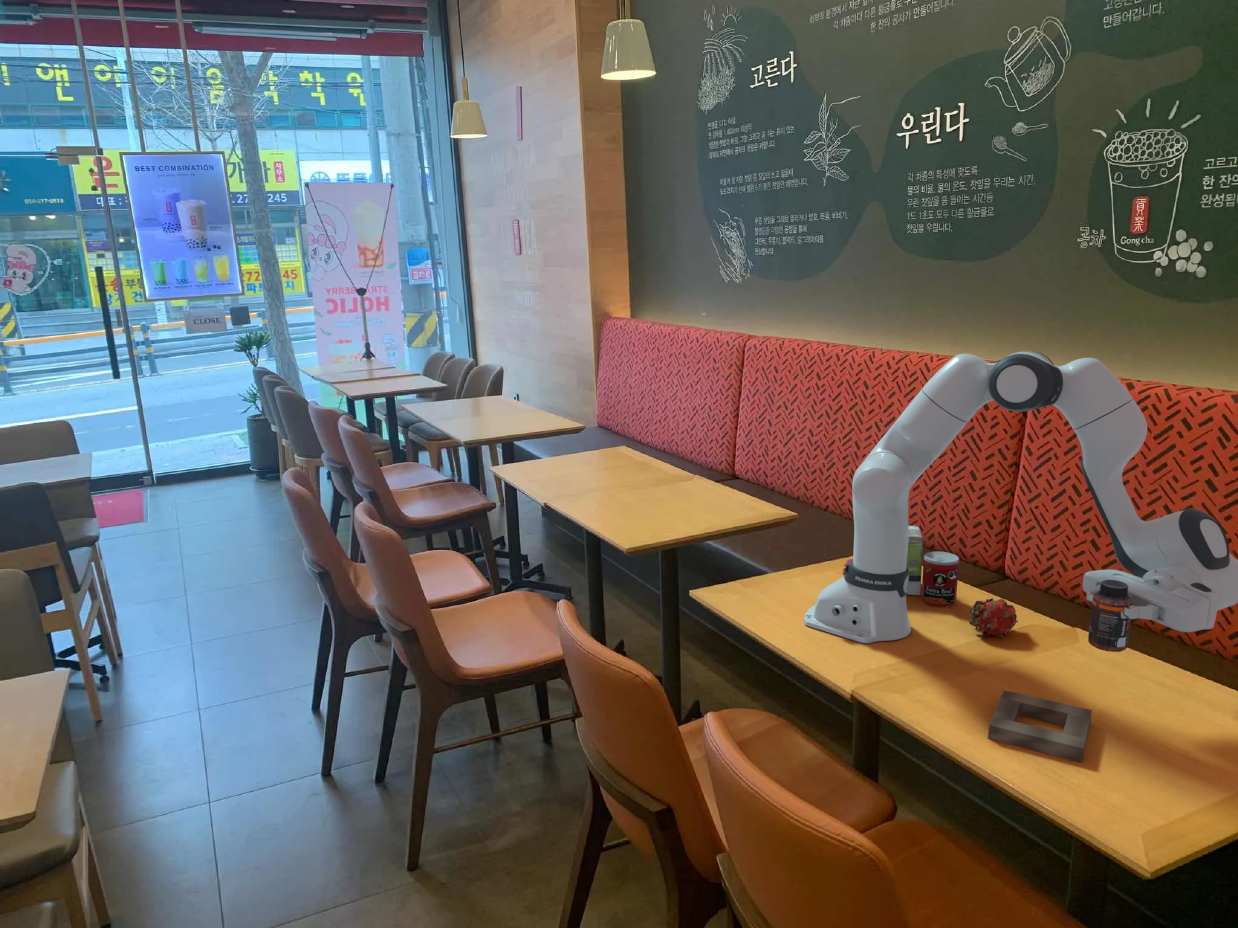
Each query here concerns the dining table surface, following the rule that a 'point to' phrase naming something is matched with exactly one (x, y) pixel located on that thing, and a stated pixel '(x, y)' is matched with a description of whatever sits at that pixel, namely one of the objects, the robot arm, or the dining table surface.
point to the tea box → (914, 560)
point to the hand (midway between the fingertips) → (1108, 604)
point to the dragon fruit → (993, 617)
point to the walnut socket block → (1038, 738)
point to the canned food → (940, 579)
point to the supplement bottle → (1110, 617)
